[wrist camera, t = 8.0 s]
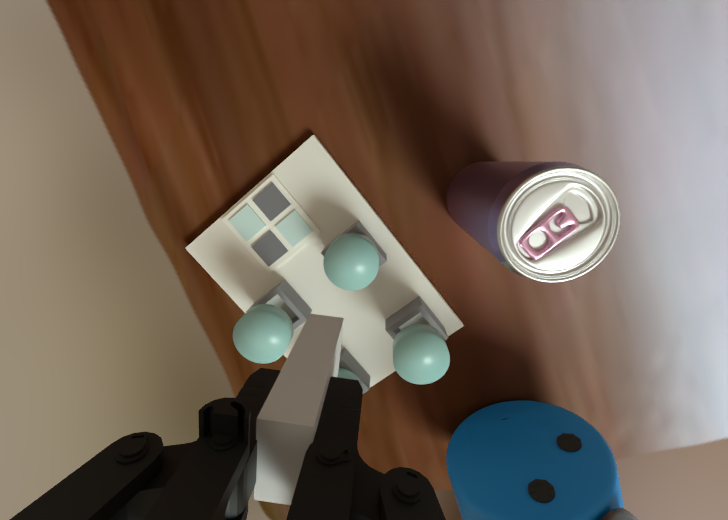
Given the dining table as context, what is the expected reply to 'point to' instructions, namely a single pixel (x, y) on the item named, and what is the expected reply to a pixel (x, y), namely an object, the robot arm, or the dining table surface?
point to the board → (319, 261)
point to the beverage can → (537, 216)
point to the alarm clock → (533, 466)
